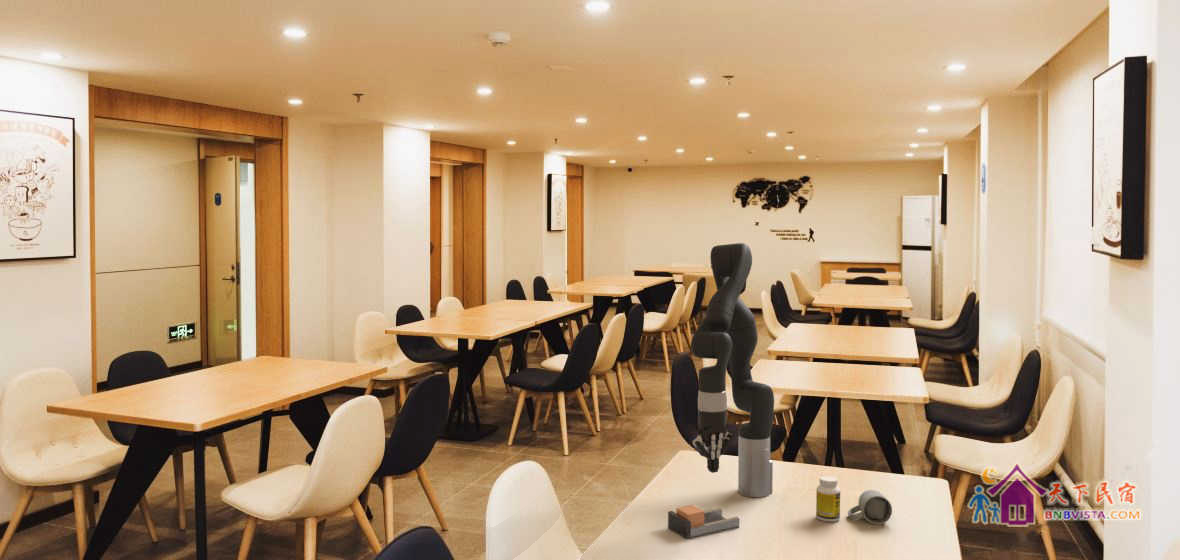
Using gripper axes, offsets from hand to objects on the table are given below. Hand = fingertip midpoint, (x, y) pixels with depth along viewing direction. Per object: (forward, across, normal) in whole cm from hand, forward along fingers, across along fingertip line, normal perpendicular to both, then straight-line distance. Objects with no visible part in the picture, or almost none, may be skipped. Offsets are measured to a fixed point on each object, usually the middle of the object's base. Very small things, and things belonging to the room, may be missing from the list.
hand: (713, 471), depth 209 cm
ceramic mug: (+16, -39, +17) cm, 46 cm away
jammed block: (+15, +7, 0) cm, 16 cm away
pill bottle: (+16, -30, +11) cm, 36 cm away
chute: (+15, +3, 0) cm, 15 cm away
